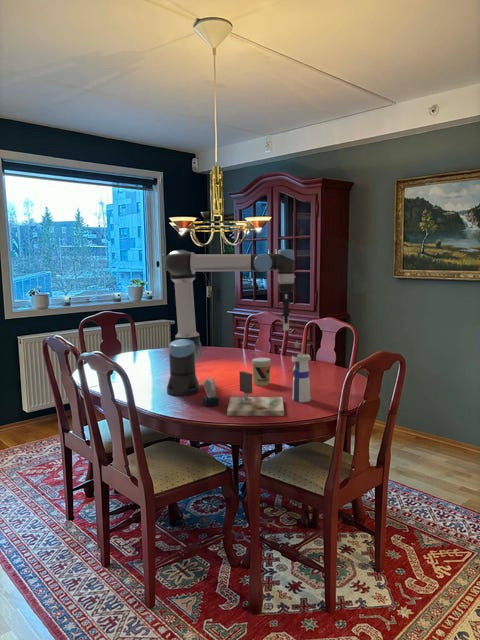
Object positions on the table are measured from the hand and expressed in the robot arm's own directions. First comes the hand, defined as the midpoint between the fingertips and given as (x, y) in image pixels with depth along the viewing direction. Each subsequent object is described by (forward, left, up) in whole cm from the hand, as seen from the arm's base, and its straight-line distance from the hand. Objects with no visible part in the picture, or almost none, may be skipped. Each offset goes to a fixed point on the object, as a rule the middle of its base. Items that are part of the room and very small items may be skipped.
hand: (286, 328), depth 228 cm
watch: (-33, -31, -28) cm, 53 cm away
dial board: (-14, -36, -27) cm, 47 cm away
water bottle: (+5, -24, -28) cm, 37 cm away
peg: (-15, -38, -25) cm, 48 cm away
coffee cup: (-12, +2, -28) cm, 30 cm away
